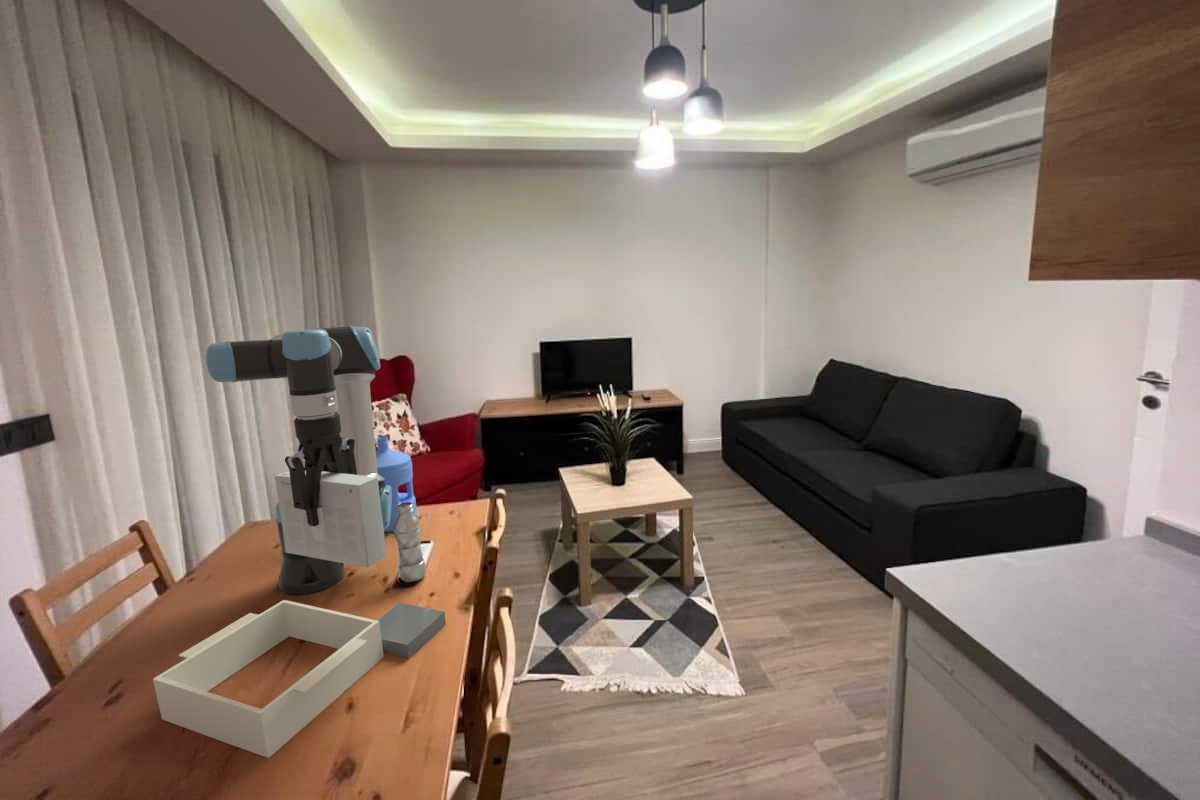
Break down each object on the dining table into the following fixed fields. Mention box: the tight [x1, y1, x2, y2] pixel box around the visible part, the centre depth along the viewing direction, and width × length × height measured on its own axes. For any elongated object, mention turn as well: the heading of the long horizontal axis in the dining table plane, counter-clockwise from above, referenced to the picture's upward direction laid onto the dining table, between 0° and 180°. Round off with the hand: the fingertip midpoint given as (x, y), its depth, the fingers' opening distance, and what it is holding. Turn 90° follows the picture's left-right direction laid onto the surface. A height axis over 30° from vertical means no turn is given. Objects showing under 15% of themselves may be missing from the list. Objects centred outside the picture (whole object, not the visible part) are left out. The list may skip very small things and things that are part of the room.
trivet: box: [377, 602, 446, 659], centre depth 117 cm, size 12×12×3 cm
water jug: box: [376, 435, 419, 533], centre depth 173 cm, size 16×16×28 cm
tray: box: [152, 599, 385, 759], centre depth 103 cm, size 31×26×8 cm
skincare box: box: [274, 470, 387, 569], centre depth 105 cm, size 21×5×16 cm, turn 68°
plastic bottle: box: [393, 502, 427, 583], centre depth 139 cm, size 6×7×20 cm
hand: (333, 533), depth 106 cm, fingers closed on skincare box, 5 cm apart
